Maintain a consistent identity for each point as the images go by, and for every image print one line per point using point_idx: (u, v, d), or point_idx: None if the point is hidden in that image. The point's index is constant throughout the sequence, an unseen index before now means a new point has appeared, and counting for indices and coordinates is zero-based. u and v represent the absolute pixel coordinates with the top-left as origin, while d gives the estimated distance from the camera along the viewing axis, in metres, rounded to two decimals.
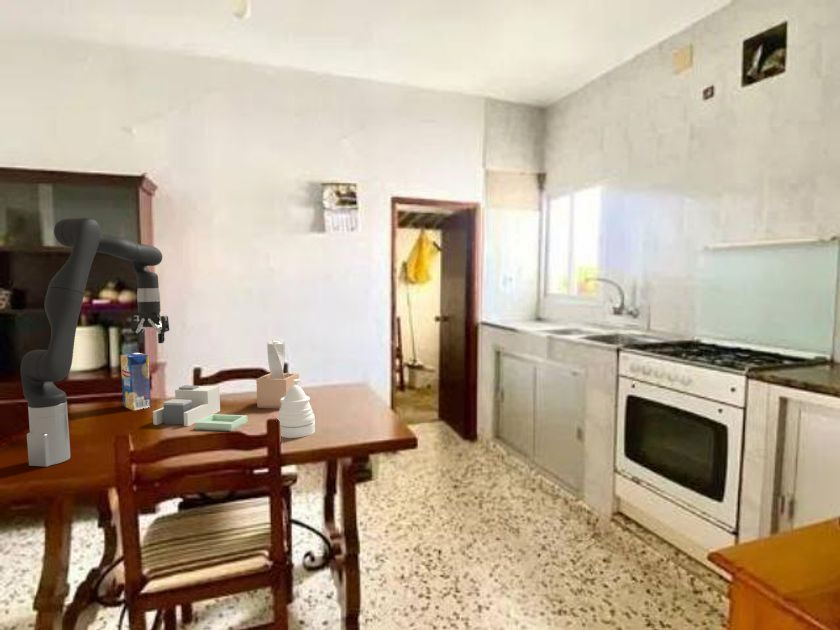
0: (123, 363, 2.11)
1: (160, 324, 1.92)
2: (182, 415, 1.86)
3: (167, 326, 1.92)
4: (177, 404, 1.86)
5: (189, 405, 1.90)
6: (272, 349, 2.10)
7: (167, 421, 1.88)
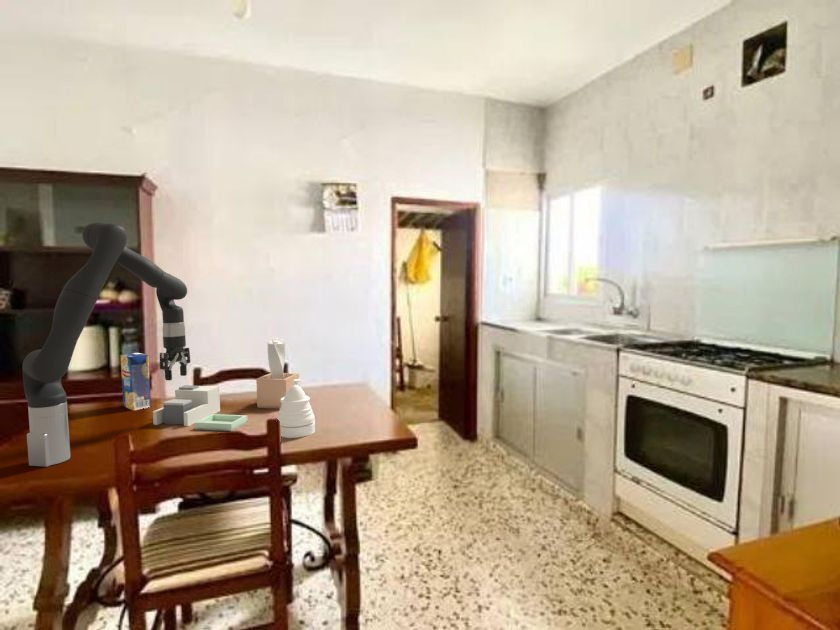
0: (123, 363, 2.11)
1: None
2: (182, 415, 1.86)
3: (184, 358, 1.95)
4: (177, 404, 1.86)
5: (189, 405, 1.90)
6: (272, 349, 2.11)
7: (167, 421, 1.88)
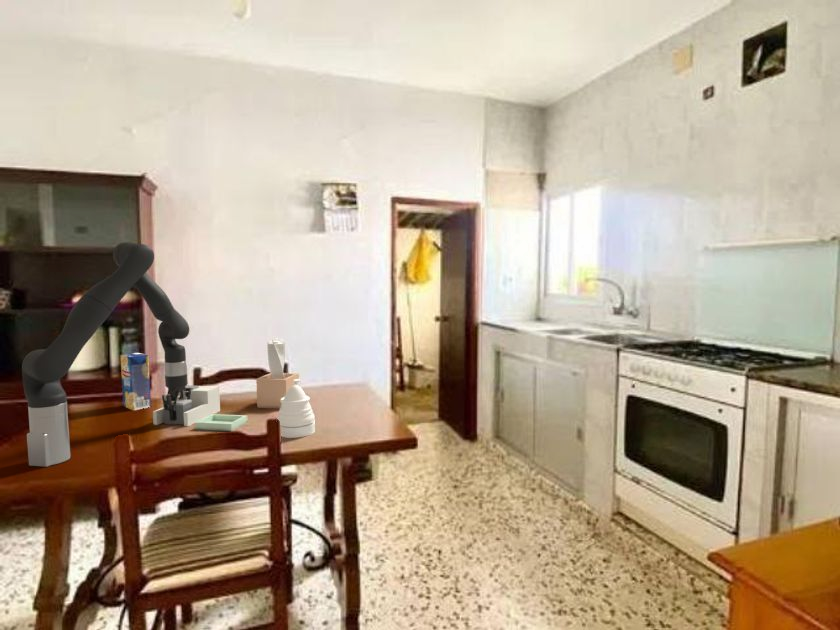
0: (123, 363, 2.11)
1: None
2: (182, 415, 1.86)
3: None
4: (177, 404, 1.86)
5: (189, 405, 1.90)
6: (272, 349, 2.11)
7: (167, 421, 1.88)
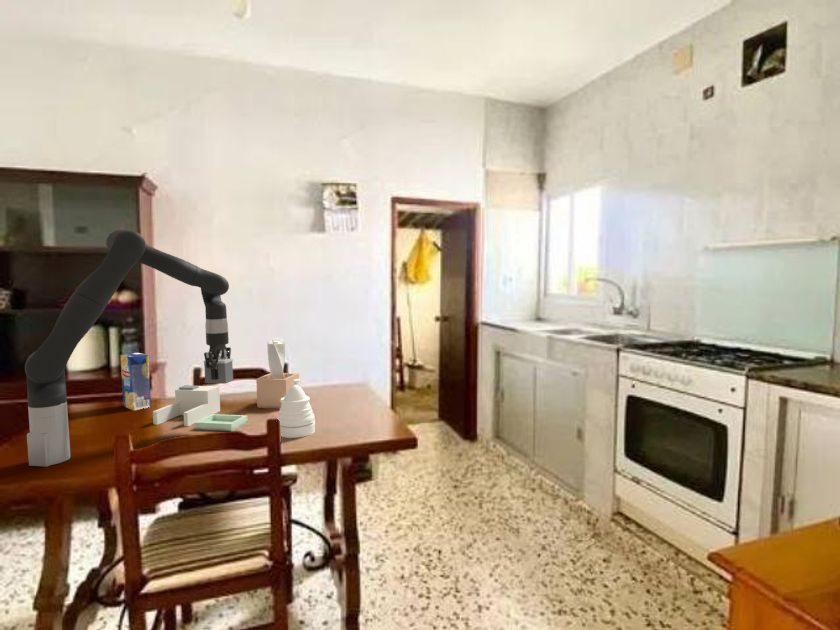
0: (123, 363, 2.11)
1: None
2: (224, 374, 1.80)
3: (224, 358, 1.89)
4: (219, 362, 1.80)
5: (230, 364, 1.84)
6: (272, 349, 2.11)
7: (208, 380, 1.82)
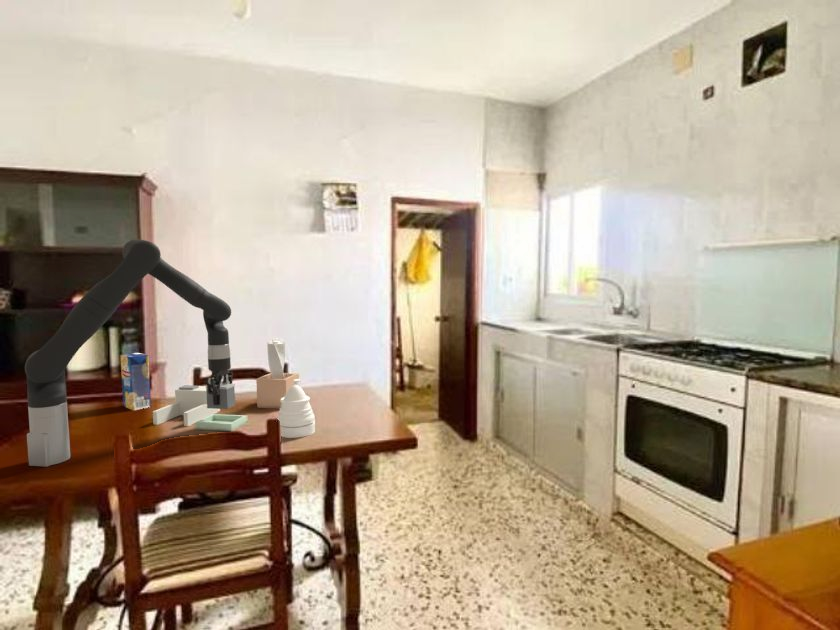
0: (123, 363, 2.11)
1: None
2: (226, 399, 1.81)
3: None
4: (221, 388, 1.81)
5: (232, 389, 1.84)
6: (272, 349, 2.11)
7: (210, 405, 1.82)
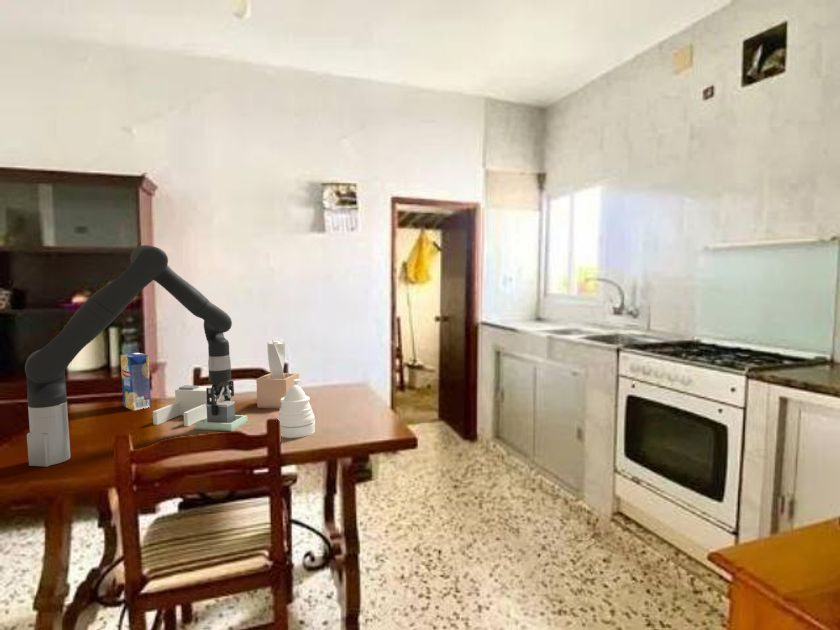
0: (123, 363, 2.11)
1: None
2: (226, 417, 1.81)
3: None
4: (221, 406, 1.81)
5: (232, 407, 1.84)
6: (272, 349, 2.11)
7: None
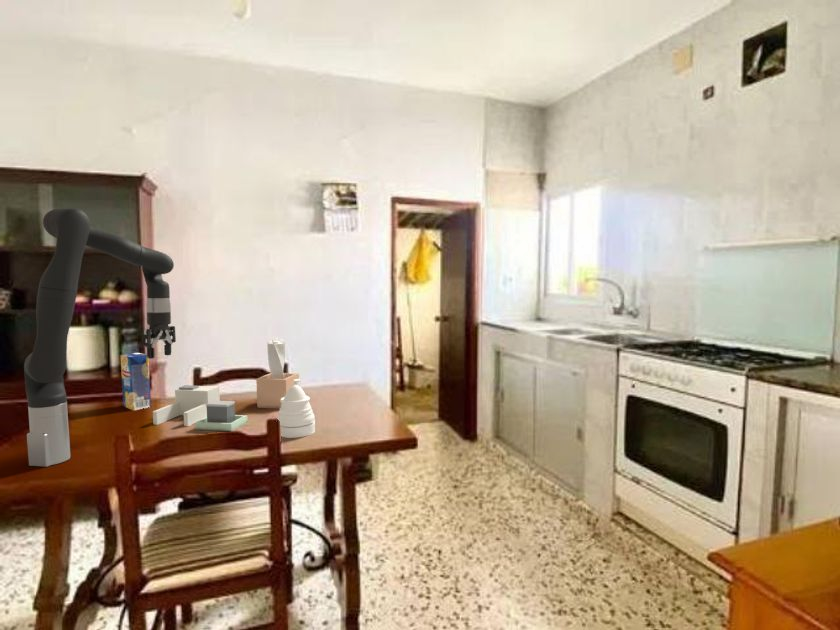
0: (123, 363, 2.11)
1: None
2: (226, 417, 1.81)
3: (170, 337, 1.86)
4: (221, 406, 1.81)
5: (232, 407, 1.84)
6: (272, 349, 2.11)
7: None
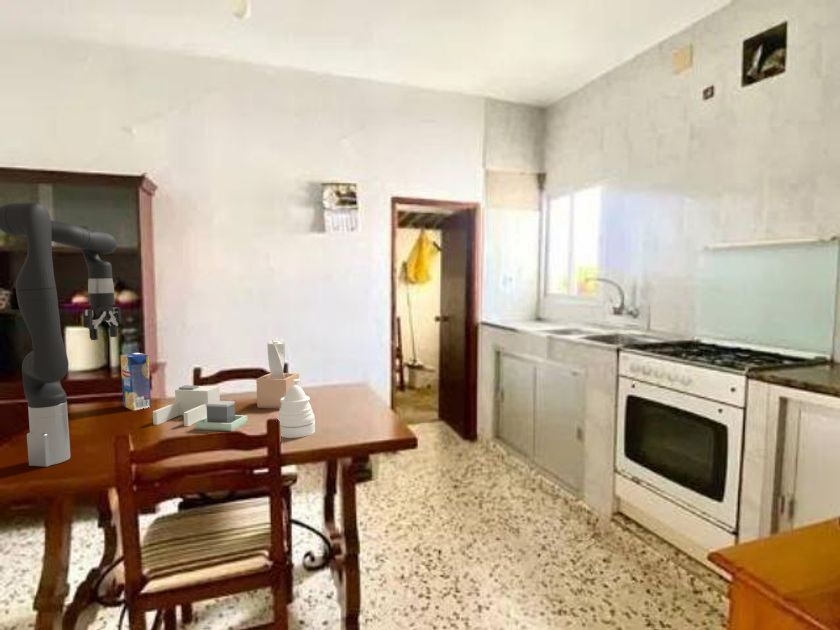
0: (123, 363, 2.11)
1: None
2: (226, 417, 1.81)
3: (115, 318, 1.83)
4: (221, 406, 1.81)
5: (232, 407, 1.84)
6: (272, 349, 2.11)
7: None
